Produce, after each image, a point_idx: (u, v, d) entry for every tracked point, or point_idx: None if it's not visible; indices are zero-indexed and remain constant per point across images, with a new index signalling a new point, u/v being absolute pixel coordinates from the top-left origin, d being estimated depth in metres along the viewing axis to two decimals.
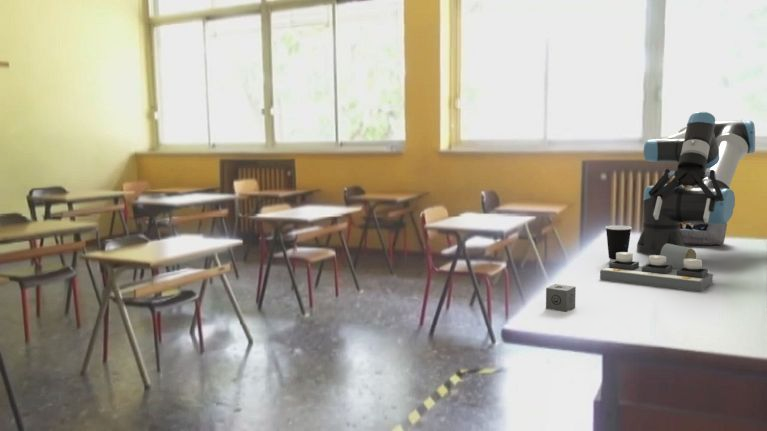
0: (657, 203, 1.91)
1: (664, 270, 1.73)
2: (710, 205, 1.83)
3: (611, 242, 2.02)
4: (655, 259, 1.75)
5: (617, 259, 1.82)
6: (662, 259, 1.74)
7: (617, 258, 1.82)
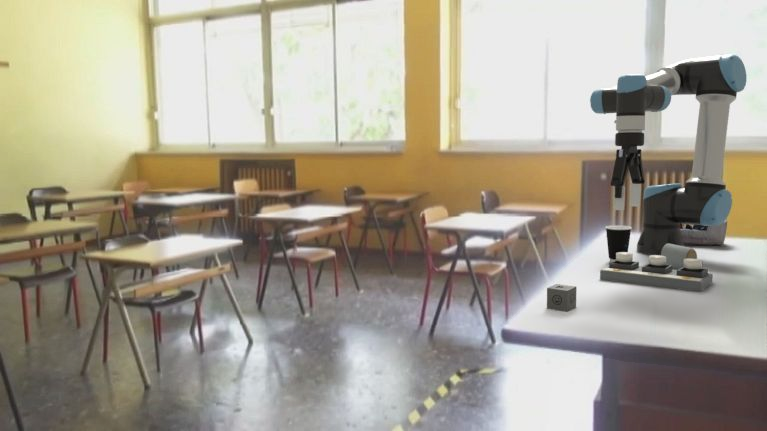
0: None
1: (664, 270, 1.73)
2: None
3: (611, 242, 2.02)
4: (655, 259, 1.75)
5: (617, 259, 1.82)
6: (662, 259, 1.74)
7: (617, 258, 1.82)
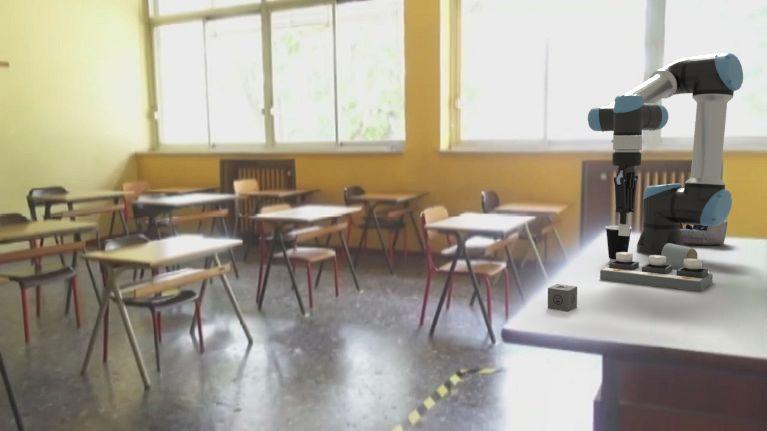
0: None
1: (664, 270, 1.73)
2: None
3: (611, 242, 2.02)
4: (655, 259, 1.75)
5: (617, 259, 1.82)
6: (662, 259, 1.74)
7: (617, 258, 1.82)
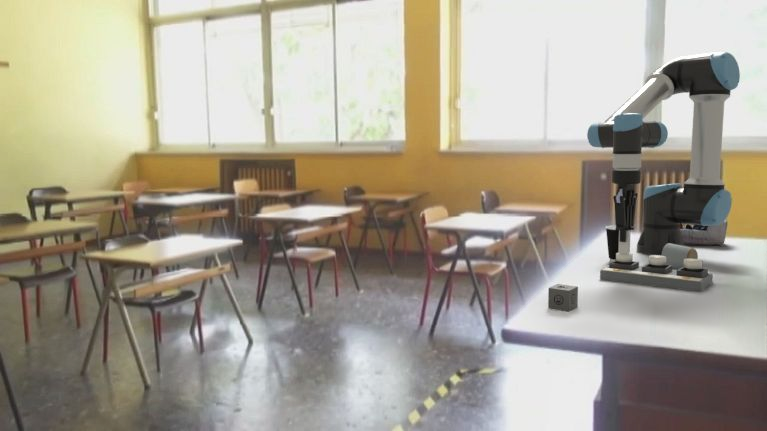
0: None
1: (664, 270, 1.73)
2: None
3: (611, 242, 2.02)
4: (655, 259, 1.75)
5: (617, 259, 1.82)
6: (662, 259, 1.74)
7: (617, 258, 1.82)
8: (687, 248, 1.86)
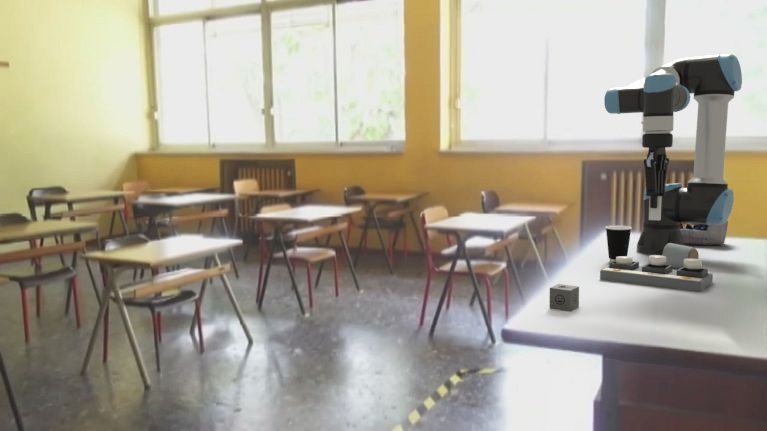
0: None
1: (664, 270, 1.73)
2: None
3: (611, 242, 2.02)
4: (655, 259, 1.75)
5: (617, 263, 1.82)
6: (662, 259, 1.74)
7: (617, 262, 1.82)
8: (688, 248, 1.86)
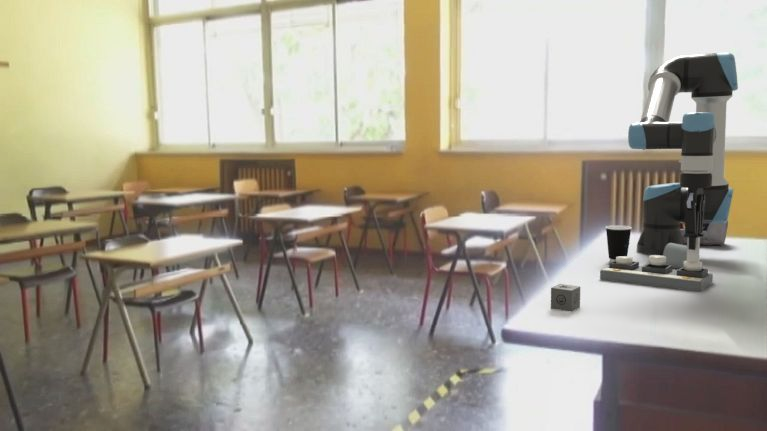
0: None
1: (664, 270, 1.73)
2: None
3: (611, 242, 2.02)
4: (655, 259, 1.75)
5: (617, 263, 1.82)
6: (662, 259, 1.74)
7: (617, 262, 1.82)
8: None
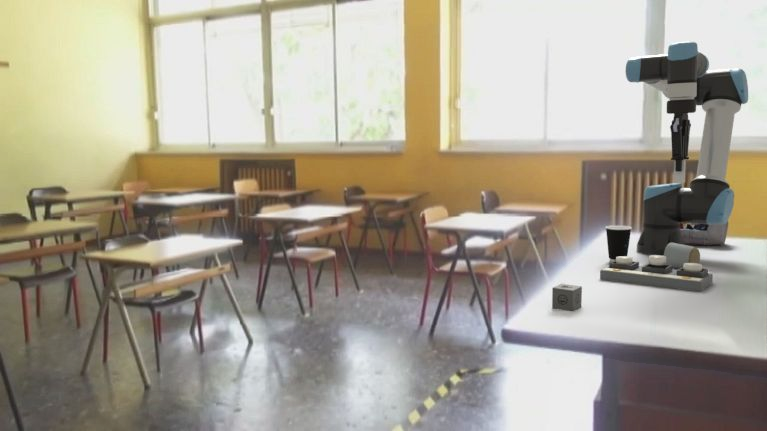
0: None
1: (664, 270, 1.73)
2: None
3: (611, 242, 2.02)
4: (655, 259, 1.75)
5: (617, 263, 1.82)
6: (662, 259, 1.74)
7: (617, 262, 1.82)
8: (689, 247, 1.87)
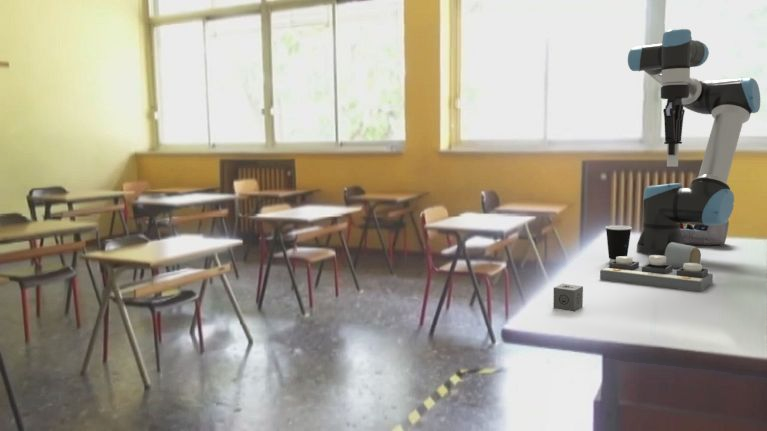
0: None
1: (664, 270, 1.73)
2: None
3: (611, 242, 2.02)
4: (655, 259, 1.75)
5: (617, 263, 1.82)
6: (662, 259, 1.74)
7: (617, 262, 1.82)
8: (690, 247, 1.88)
